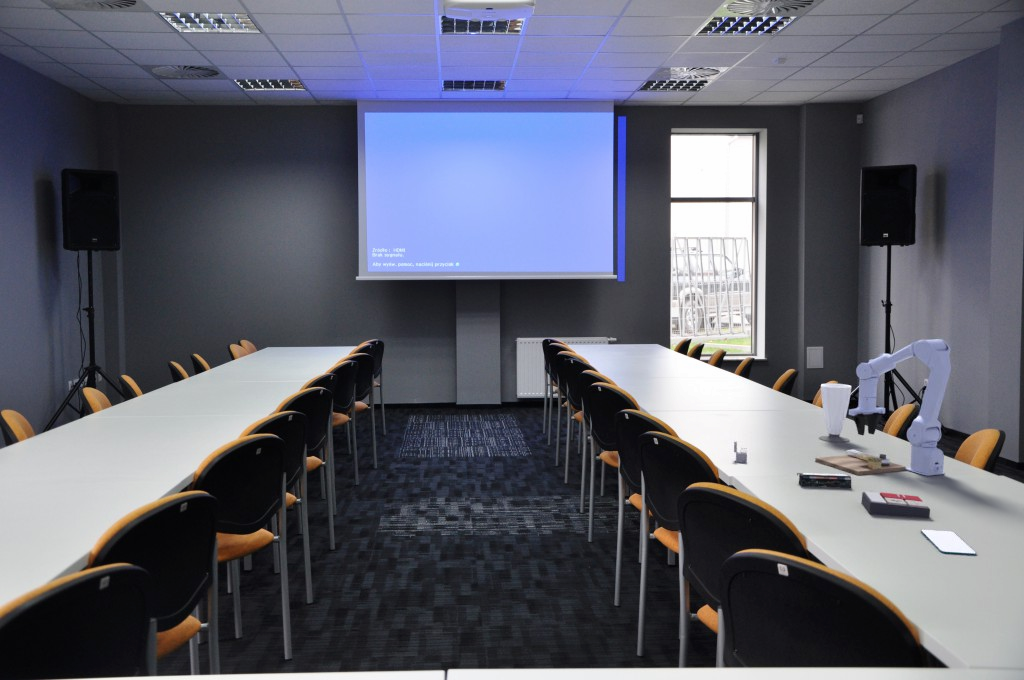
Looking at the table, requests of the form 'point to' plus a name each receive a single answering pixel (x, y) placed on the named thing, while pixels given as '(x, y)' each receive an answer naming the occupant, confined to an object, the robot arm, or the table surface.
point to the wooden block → (871, 461)
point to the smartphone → (947, 542)
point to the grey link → (855, 453)
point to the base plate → (857, 464)
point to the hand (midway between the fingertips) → (866, 434)
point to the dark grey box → (894, 505)
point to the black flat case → (824, 480)
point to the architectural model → (740, 454)
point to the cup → (835, 409)
